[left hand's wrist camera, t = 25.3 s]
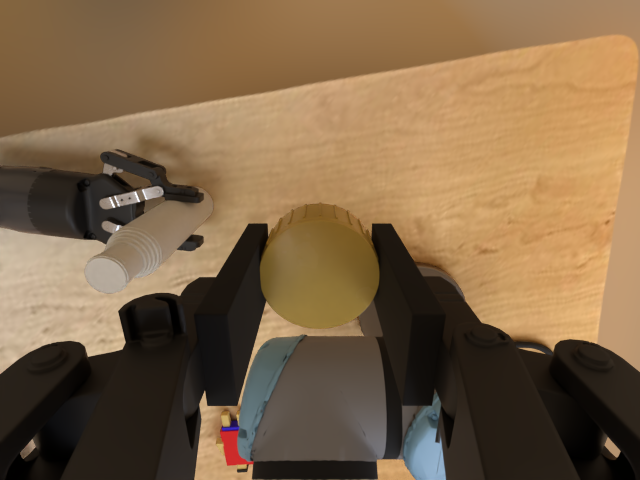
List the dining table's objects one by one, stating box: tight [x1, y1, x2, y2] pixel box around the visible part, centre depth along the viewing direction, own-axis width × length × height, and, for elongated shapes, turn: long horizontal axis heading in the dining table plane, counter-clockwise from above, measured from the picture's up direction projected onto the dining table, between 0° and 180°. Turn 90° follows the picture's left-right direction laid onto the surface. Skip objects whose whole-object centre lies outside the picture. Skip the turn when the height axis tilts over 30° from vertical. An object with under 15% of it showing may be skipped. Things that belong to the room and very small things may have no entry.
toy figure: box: [216, 411, 253, 472], centre depth 60 cm, size 2×7×12 cm
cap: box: [260, 203, 380, 329], centre depth 13 cm, size 4×4×2 cm
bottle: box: [85, 186, 213, 294], centre depth 36 cm, size 5×5×21 cm
